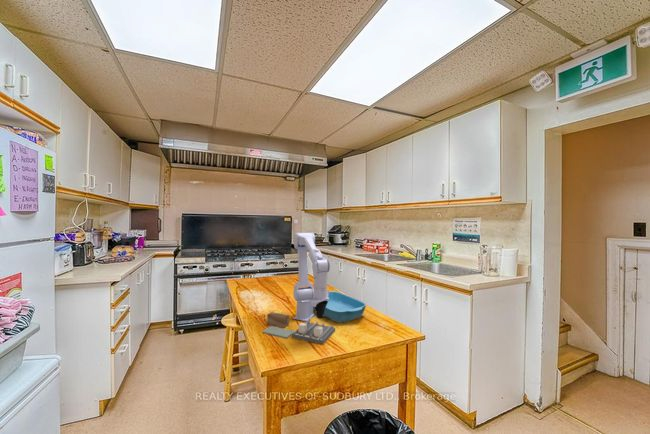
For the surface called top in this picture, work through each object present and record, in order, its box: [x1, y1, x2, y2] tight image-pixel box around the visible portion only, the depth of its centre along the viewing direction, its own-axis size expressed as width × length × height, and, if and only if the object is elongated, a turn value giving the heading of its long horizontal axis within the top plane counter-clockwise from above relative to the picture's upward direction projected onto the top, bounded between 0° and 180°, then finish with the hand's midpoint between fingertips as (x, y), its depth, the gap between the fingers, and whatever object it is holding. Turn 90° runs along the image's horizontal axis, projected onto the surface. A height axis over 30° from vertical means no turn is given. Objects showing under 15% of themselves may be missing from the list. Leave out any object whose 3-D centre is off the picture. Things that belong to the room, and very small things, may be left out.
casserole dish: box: [312, 290, 367, 323], centre depth 146 cm, size 37×22×7 cm, turn 35°
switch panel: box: [290, 319, 336, 345], centre depth 119 cm, size 14×15×2 cm
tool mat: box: [261, 325, 295, 339], centre depth 119 cm, size 6×13×1 cm, turn 67°
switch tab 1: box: [297, 322, 307, 333], centre depth 117 cm, size 2×3×3 cm
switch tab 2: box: [314, 326, 323, 337], centre depth 114 cm, size 2×3×3 cm
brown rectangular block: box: [266, 311, 290, 329], centre depth 128 cm, size 4×10×5 cm, turn 66°
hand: (320, 317), depth 116 cm, fingers closed
